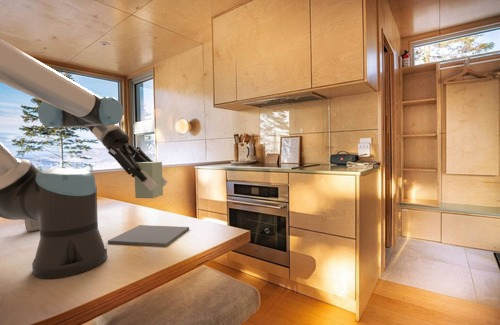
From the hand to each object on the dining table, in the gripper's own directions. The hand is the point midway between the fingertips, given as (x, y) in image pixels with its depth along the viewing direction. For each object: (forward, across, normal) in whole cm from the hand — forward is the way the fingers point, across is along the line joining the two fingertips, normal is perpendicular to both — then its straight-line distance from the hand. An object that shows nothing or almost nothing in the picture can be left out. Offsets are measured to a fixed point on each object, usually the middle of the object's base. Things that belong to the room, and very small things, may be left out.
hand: (159, 186), depth 83 cm
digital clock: (-22, -5, -45) cm, 50 cm away
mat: (+9, 0, -14) cm, 17 cm away
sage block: (0, 0, -5) cm, 5 cm away
